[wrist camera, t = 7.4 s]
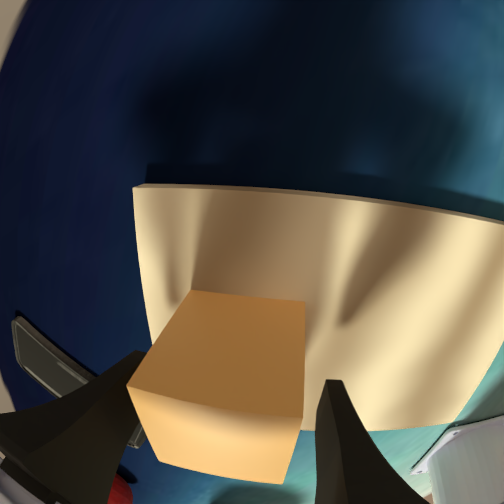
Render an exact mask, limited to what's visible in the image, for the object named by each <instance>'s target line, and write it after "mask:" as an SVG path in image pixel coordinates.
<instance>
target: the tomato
mask: <svg viewBox="0 0 504 504" xmlns="http://www.w3.org/2000/svg"><path fill="white" fill-rule="evenodd" d="M132 501H133V495H132V491H131V488H130V487H129V485H128V484H127V482H126V481H125V480H124V479H123V478H122V477H121V476H119V475H118V474H117V473H116V474H115V477H114V480H113V484H112V487H111V491H110V495H109V499H108V503H107V504H132Z"/></svg>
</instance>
